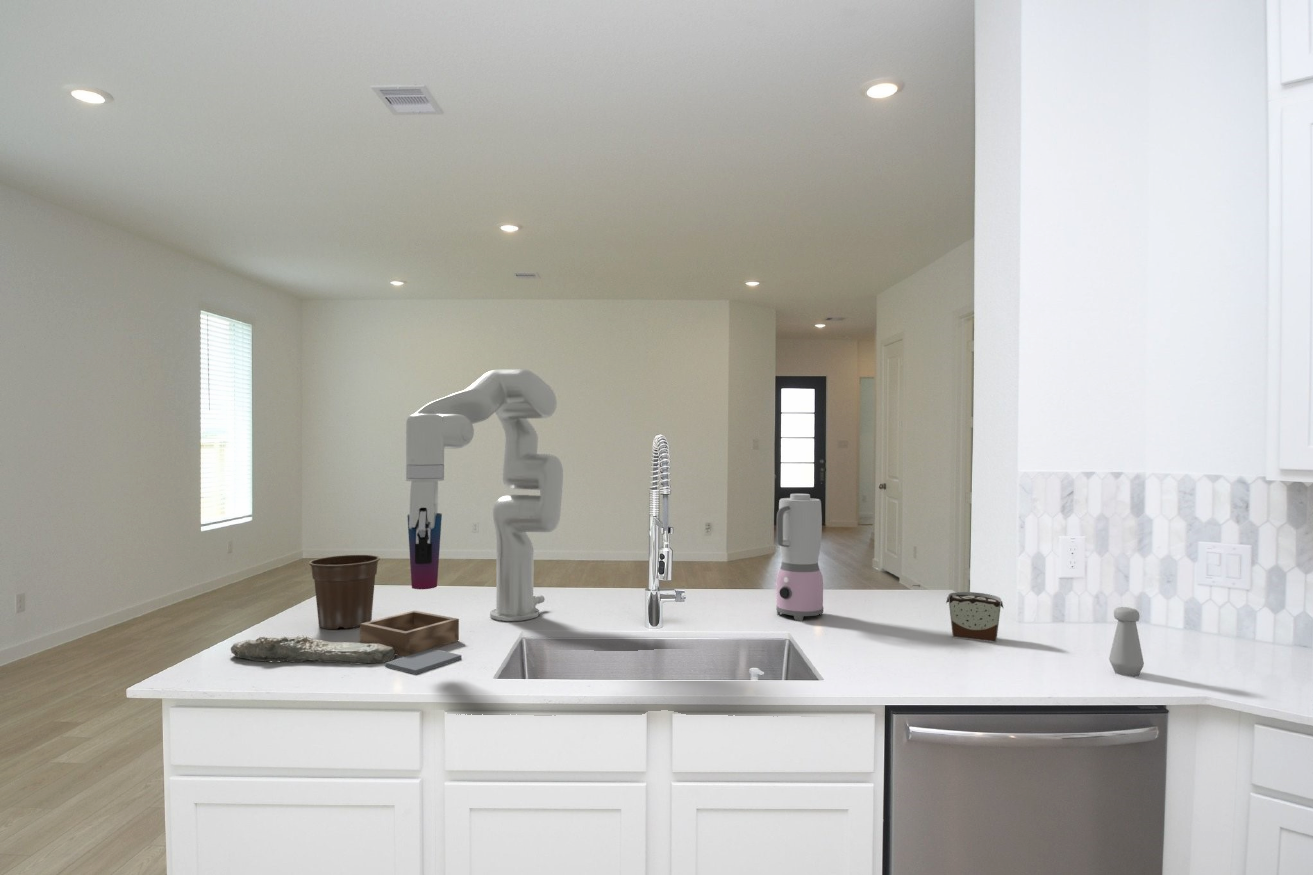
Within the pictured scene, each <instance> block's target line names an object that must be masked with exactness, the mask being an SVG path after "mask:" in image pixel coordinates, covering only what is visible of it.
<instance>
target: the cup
mask: <svg viewBox="0 0 1313 875" xmlns="http://www.w3.org/2000/svg"><path fill="white" fill-rule="evenodd" d="M409 515H410V513H409V514H407V528H408V529H407V530H408V533H407V534H408V547H409V550H408V551H409V563H410V583H411V589H414V590H431V589H435V588H437V587H438V581H439V580H438V576H439V563H440V562H439V561H440V547H441V531H442V519H443V518H442V517H443V514H442V513H439V512H437V515H436V518H435V526H434V528H433V529H431V542H430V543H432V562H431V563H430V564H416V563H415V544H416V528H417V523H416V526H415V527H412V529H413V530H410V529H409ZM426 520H427V515H426ZM418 522H419V519H418ZM426 528H429V524H426ZM427 533H428V532H427ZM427 537H428V536H427Z"/></svg>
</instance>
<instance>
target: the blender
mask: <svg viewBox="0 0 1313 875" xmlns="http://www.w3.org/2000/svg"><path fill="white" fill-rule="evenodd" d="M822 515H823V514H822V501H821V499H819V498H811V494H809V493H790V495H789V497H784V498H780V499H779V502H778V510H777V512H776V544H778V546H779V551H780V555H781V558H780V559H781V565H780V567H779V569H778V572H777V574H776V575H777V576H776V605H775V606H776V615H777V616H778V615H780V616H781V614H783V615H787V616H788V615H789V616H793V618H794V619H796V620H795V621H798V620H802V621H803V620H804V617H813V616H818V615H819V614H820V615H819V616H823V613H824V578H823V574H822V571H821V570H820V567H819V556H820V554H821V553H820V552H821V551H820V550H821V545H822V537H823V535H822V534H823V533H822V532H823V528H822V527H823V524H822V523H823V519H822V518H823V516H822Z"/></svg>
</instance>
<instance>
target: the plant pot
mask: <svg viewBox="0 0 1313 875" xmlns="http://www.w3.org/2000/svg"><path fill="white" fill-rule="evenodd" d="M380 559H381V558H380V556H378V555H373V554H345V555H335V556H334V555H333V556H325V557H320V558H315V559H312V560H310V561H309V562H308V563H309V566H311V567H310V568H311V576H312V579H313V581H314V589H315V590H314V591H315V598H316V599H315V600H316V610H317V619H318V626H319V627H320V628H322V629H326V630H337V629H339V628H344V629H353V628H360V624H361V623H365V622H369V621H373V620H372V618H373V606H374V596H375V595H374V593H375V592H374V591H375V582H376V575H377V573H378V565H379V564H378V563H379V561H380Z"/></svg>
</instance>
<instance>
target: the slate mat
mask: <svg viewBox="0 0 1313 875" xmlns="http://www.w3.org/2000/svg"><path fill="white" fill-rule="evenodd" d="M456 660H457V661H459V660H462V654H458V653H453V652H450V651H446V650H445V651H444V650H440V649H437V648H433V649H429V650H425V651H422V652H419V653H416V654H412V655H409V656H406V657H403V656H401V657H400V658H396V659H392V660H390V661H387V662H384V664H385V665H384V666H385V667H386V668H390V669H393V670H398V671H401V672H404V673H408V674H413V675H417V674H421V673H423V672H426V671H430V670H433V669H436V668H439V667H442V666H444V665H448V664H450V662H451V663H453V662H452V661H454V662H457V661H456ZM447 663H448V664H447ZM441 665H442V666H441Z"/></svg>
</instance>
